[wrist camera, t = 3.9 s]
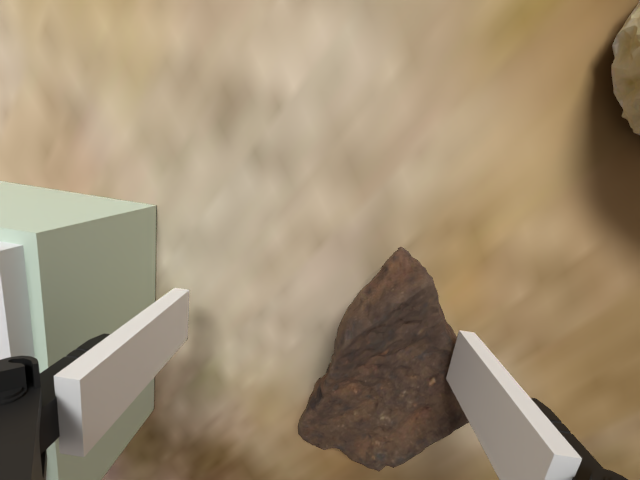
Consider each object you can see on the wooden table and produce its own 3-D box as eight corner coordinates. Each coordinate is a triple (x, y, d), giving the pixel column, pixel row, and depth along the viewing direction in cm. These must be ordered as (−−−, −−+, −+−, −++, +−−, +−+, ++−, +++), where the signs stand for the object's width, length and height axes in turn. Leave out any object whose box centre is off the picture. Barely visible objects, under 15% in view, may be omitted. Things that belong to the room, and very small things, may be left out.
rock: (394, 236, 16) (423, 267, 12) (484, 356, 19) (527, 407, 15) (235, 355, 17) (221, 411, 14) (343, 446, 21) (354, 510, 17)
